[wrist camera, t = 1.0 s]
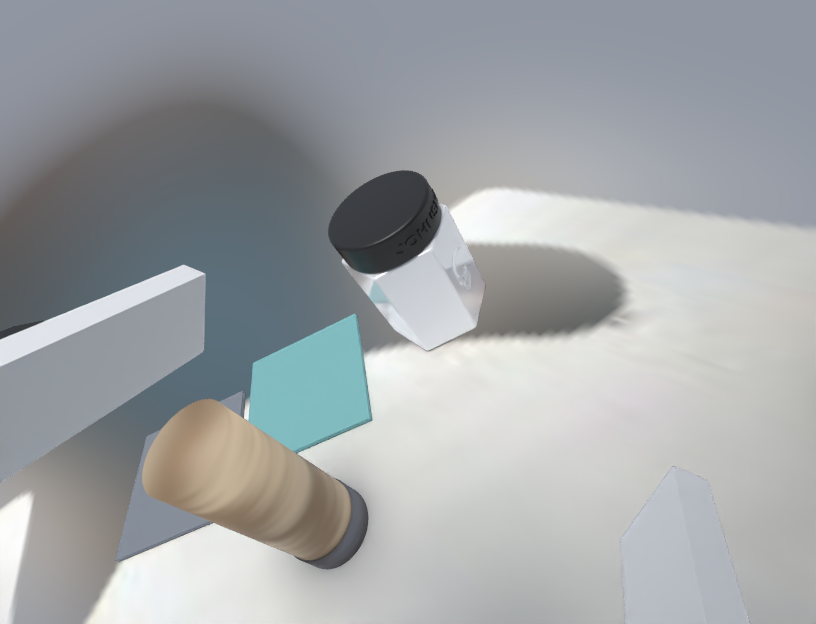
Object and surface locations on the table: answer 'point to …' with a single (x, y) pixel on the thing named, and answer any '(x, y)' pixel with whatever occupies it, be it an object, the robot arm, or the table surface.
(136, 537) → the slate seat
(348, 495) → the banded sleeve
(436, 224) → the jar
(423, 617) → the table surface
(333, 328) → the teal seat
